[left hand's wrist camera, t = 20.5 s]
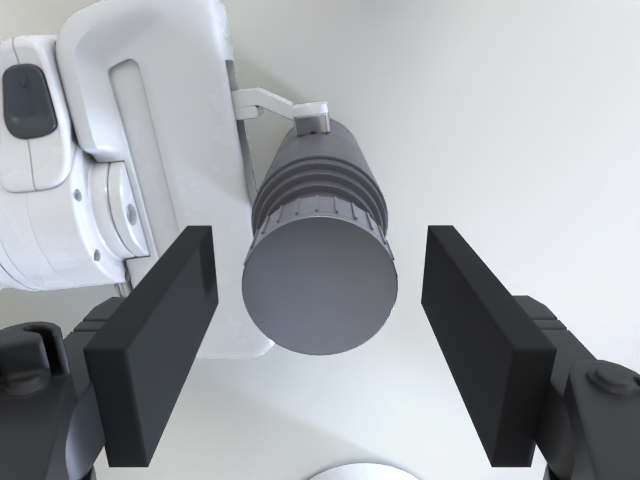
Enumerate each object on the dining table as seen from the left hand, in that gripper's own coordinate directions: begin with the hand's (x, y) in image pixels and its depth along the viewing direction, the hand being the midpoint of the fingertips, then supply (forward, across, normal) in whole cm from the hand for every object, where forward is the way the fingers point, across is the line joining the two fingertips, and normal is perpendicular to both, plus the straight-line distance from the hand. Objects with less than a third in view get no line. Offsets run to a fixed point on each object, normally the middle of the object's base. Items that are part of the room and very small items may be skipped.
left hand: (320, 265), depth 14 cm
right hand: (+11, -1, 0) cm, 11 cm away
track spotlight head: (+18, 0, 0) cm, 18 cm away
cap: (-1, 0, 0) cm, 1 cm away
